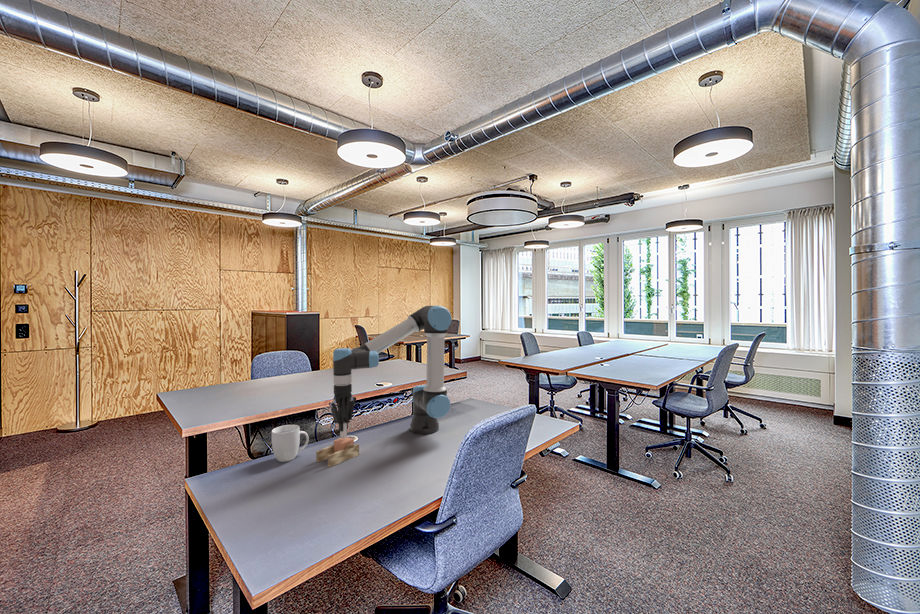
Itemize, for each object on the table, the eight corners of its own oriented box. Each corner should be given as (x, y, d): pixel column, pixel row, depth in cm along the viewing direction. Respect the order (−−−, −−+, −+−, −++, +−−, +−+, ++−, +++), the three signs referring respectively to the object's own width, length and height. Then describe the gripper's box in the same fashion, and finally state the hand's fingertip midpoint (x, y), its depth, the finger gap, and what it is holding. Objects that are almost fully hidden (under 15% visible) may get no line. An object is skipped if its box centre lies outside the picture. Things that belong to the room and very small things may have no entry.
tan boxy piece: (345, 449, 170) (345, 437, 170) (360, 454, 164) (359, 442, 164) (315, 461, 158) (315, 448, 158) (330, 467, 152) (330, 453, 151)
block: (345, 451, 167) (345, 436, 167) (354, 454, 164) (353, 439, 164) (334, 456, 162) (333, 440, 162) (342, 459, 159) (342, 443, 159)
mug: (305, 449, 171) (304, 420, 171) (312, 456, 163) (312, 427, 162) (269, 458, 162) (268, 428, 161) (275, 466, 153) (274, 435, 153)
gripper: (349, 380, 170) (350, 431, 170) (324, 385, 159) (325, 440, 160) (360, 382, 166) (361, 435, 166) (335, 388, 155) (336, 444, 155)
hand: (343, 437), depth 163 cm, fingers closed
